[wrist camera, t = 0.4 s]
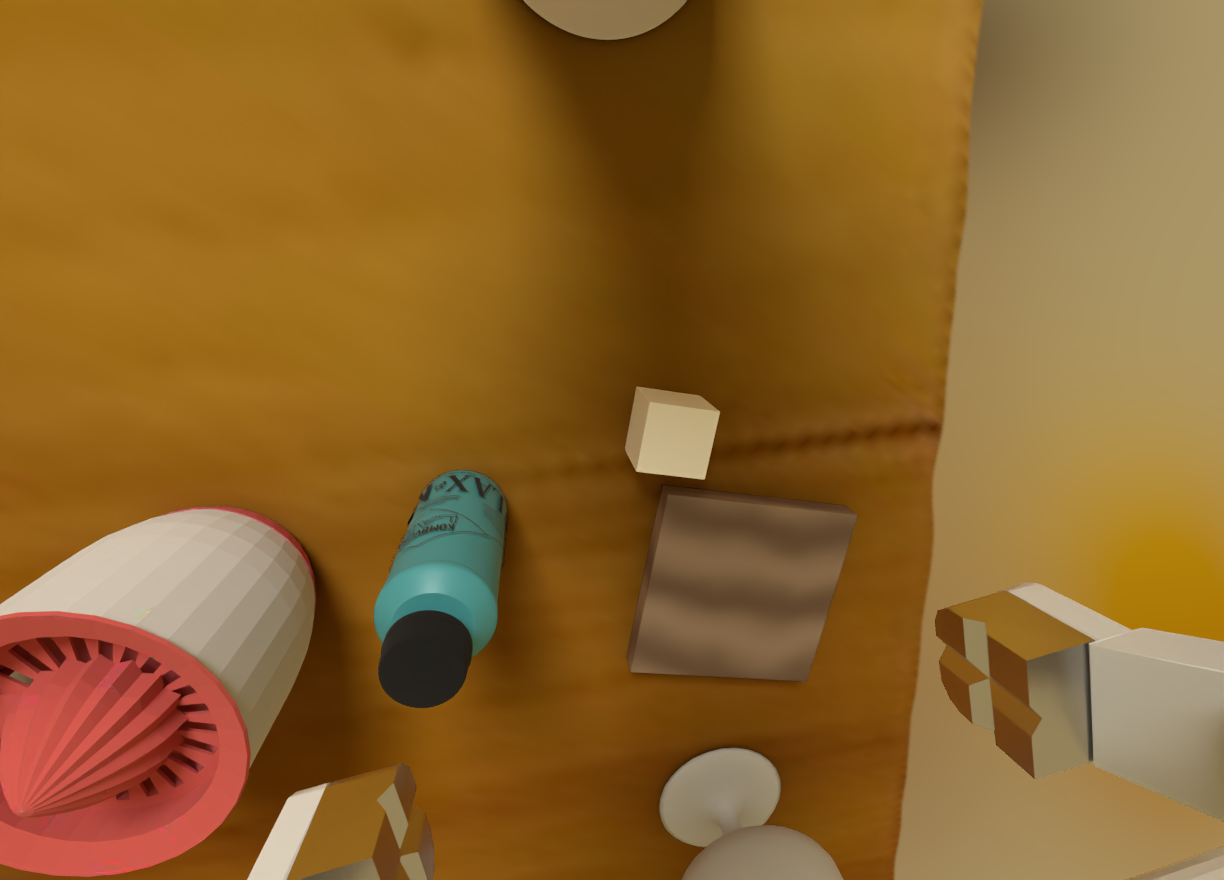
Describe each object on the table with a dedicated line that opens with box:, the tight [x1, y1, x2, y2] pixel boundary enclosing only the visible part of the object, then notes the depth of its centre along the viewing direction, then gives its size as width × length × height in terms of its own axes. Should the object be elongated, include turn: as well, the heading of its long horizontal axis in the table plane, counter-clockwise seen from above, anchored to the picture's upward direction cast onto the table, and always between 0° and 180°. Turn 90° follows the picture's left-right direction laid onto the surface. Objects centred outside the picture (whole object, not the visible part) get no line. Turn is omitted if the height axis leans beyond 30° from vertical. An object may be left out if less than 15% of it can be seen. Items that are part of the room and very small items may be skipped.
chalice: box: [659, 748, 843, 880], centre depth 51 cm, size 14×14×15 cm
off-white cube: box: [625, 386, 720, 480], centre depth 44 cm, size 5×5×5 cm
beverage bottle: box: [374, 470, 508, 708], centre depth 36 cm, size 6×7×20 cm
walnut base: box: [627, 485, 858, 681], centre depth 50 cm, size 16×16×2 cm
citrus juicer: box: [0, 507, 317, 877], centre depth 35 cm, size 16×17×20 cm
